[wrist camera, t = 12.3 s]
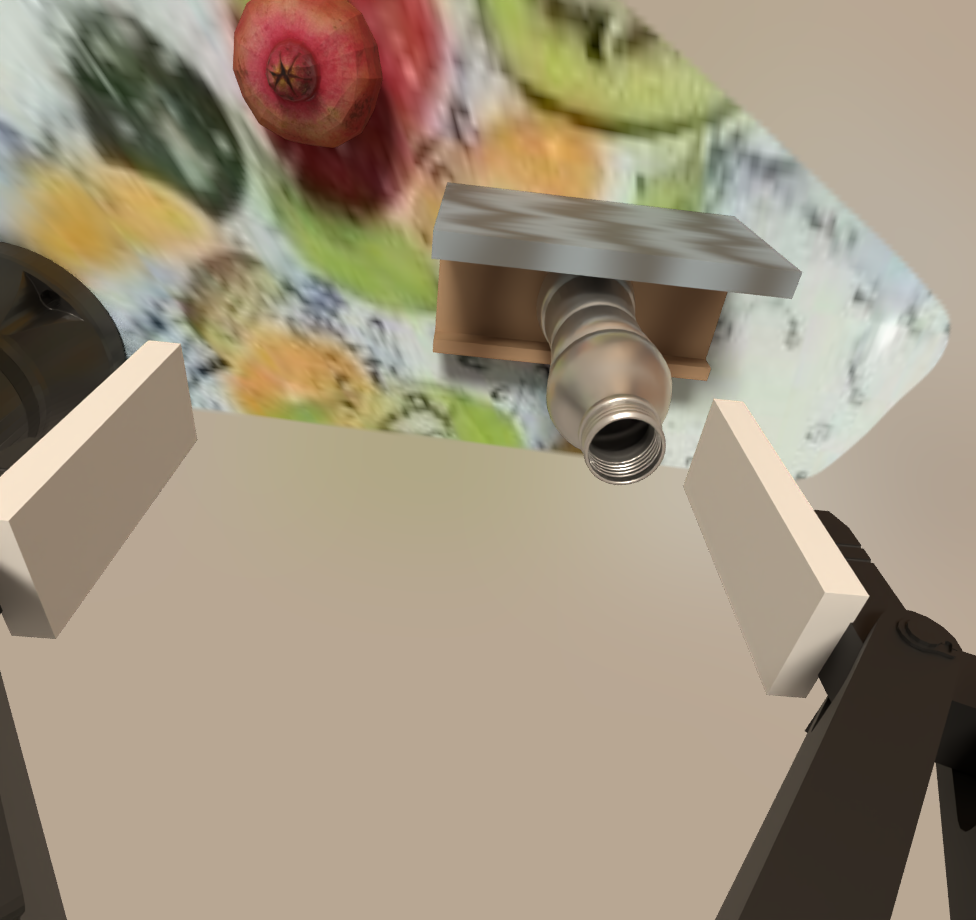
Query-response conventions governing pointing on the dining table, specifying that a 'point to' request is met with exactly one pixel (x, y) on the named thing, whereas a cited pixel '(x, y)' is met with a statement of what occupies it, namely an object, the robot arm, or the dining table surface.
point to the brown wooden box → (590, 270)
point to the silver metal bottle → (604, 376)
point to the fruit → (307, 69)
